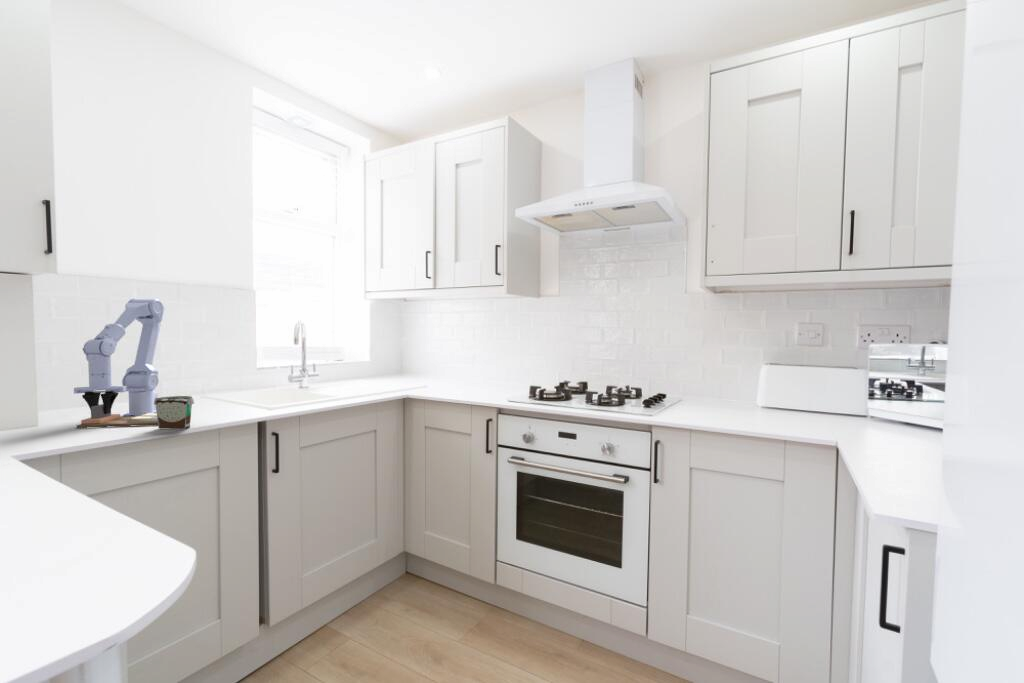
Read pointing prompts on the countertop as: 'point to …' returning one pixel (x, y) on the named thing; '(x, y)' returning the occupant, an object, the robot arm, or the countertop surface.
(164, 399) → the food container
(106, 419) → the pink grey stepped block
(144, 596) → the countertop surface
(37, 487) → the countertop surface
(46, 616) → the countertop surface
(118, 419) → the board
